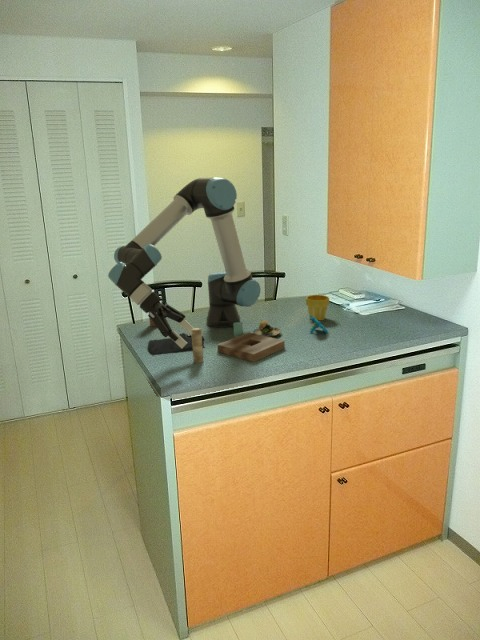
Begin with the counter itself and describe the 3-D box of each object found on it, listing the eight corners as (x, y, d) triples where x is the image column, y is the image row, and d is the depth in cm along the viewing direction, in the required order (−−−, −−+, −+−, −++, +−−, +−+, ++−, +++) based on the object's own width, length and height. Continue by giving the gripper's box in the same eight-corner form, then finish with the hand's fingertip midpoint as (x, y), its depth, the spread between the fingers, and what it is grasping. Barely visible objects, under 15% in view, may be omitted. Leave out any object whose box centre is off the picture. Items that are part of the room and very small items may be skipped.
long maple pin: (191, 361, 186) (189, 329, 183) (198, 358, 189) (196, 327, 185) (198, 363, 184) (196, 331, 180) (205, 360, 186) (203, 329, 183)
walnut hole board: (217, 351, 195) (217, 344, 194) (249, 339, 207) (248, 332, 206) (253, 362, 183) (253, 354, 182) (284, 348, 196) (284, 340, 195)
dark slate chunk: (147, 344, 208) (145, 333, 207) (200, 338, 213) (199, 327, 212) (150, 357, 194) (149, 345, 192) (207, 350, 199) (206, 338, 197)
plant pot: (332, 316, 233) (333, 295, 230) (323, 322, 225) (323, 301, 222) (311, 314, 238) (311, 293, 236) (302, 320, 230) (301, 298, 227)
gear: (330, 332, 206) (312, 315, 206) (320, 342, 207) (302, 326, 206) (327, 327, 217) (310, 311, 216) (317, 337, 218) (300, 321, 217)
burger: (268, 341, 204) (268, 323, 202) (246, 336, 212) (246, 319, 210) (287, 334, 213) (287, 316, 211) (265, 329, 220) (264, 312, 218)
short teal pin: (232, 340, 207) (231, 323, 205) (238, 337, 210) (237, 321, 208) (238, 342, 205) (238, 325, 203) (244, 339, 207) (244, 323, 205)
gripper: (151, 297, 195) (191, 335, 197) (126, 315, 171) (173, 358, 173) (163, 283, 192) (204, 322, 194) (140, 300, 169) (187, 344, 171)
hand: (189, 339), depth 184 cm, fingers open, 13 cm apart
